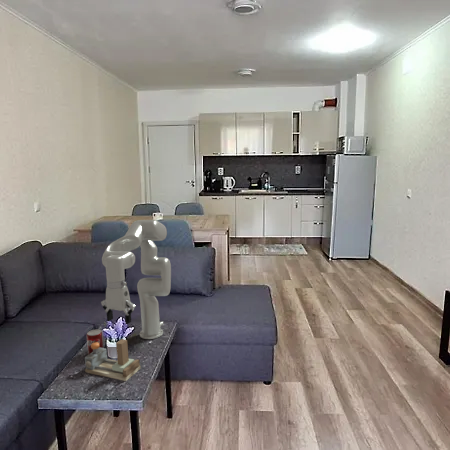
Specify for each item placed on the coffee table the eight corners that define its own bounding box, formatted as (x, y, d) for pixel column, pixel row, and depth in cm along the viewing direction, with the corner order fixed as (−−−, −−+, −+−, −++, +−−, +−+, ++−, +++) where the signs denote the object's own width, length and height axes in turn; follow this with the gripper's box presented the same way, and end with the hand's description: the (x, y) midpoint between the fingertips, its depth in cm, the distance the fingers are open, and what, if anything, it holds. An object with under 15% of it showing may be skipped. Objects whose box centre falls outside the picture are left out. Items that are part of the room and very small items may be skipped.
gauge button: (95, 351, 185) (94, 341, 185) (101, 352, 184) (100, 342, 183) (90, 354, 182) (89, 345, 181) (96, 355, 181) (95, 346, 180)
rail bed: (101, 360, 190) (100, 346, 189) (140, 368, 181) (139, 354, 180) (85, 372, 180) (84, 357, 179) (125, 381, 171) (124, 365, 170)
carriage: (123, 361, 183) (121, 336, 181) (134, 363, 180) (132, 338, 178) (112, 370, 175) (110, 344, 173) (123, 372, 173) (121, 346, 171)
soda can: (99, 359, 191) (97, 336, 189) (85, 358, 193) (83, 335, 191) (106, 352, 198) (104, 329, 196) (93, 351, 200) (91, 328, 198)
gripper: (138, 283, 172) (140, 320, 174) (105, 279, 178) (108, 316, 181) (127, 288, 165) (130, 327, 168) (94, 284, 171) (97, 322, 174)
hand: (119, 321), depth 174 cm, fingers open, 9 cm apart
